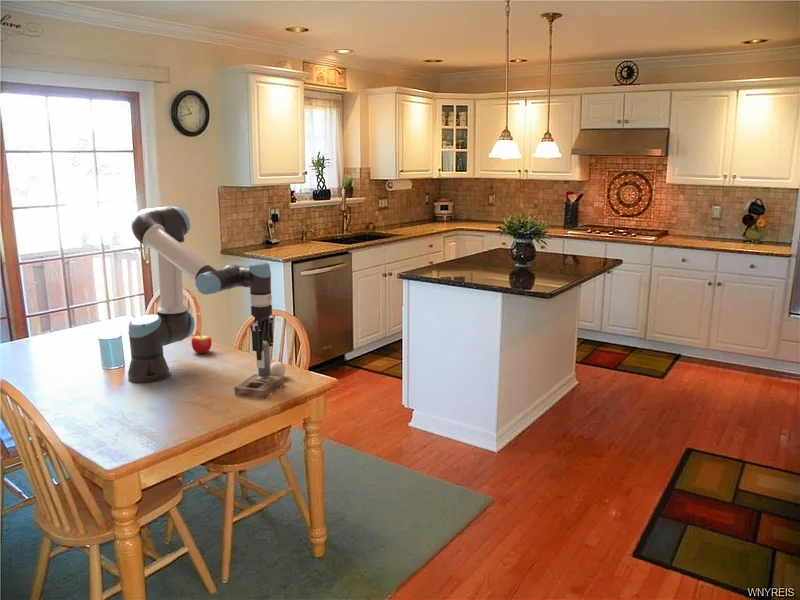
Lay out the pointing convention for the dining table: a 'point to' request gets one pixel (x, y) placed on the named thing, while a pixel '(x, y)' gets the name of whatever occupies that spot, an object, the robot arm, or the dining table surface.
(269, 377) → the wooden socket board
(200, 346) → the apple
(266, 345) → the plug
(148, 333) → the robot arm
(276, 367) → the light bulb
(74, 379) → the dining table surface
